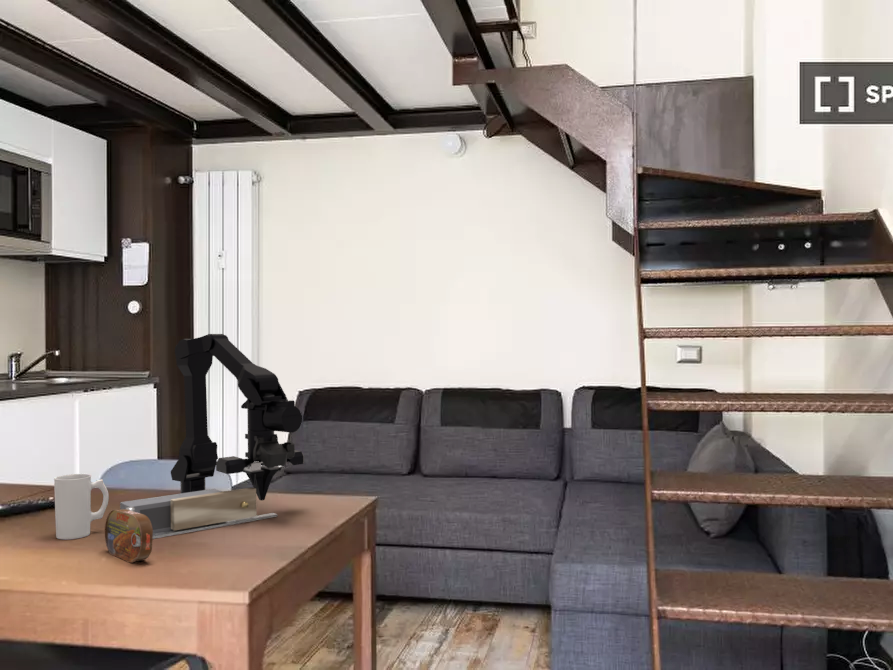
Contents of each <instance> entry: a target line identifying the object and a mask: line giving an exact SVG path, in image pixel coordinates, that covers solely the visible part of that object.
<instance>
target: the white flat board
mask: <svg viewBox="0 0 893 670" xmlns="http://www.w3.org/2000/svg"><path fill="white" fill-rule="evenodd" d="M126 509H127V510H130V511H134V512H135V507H127V508H126ZM270 518H271V519H272V518H278V514H277V513H274V512H270V513H264V514H260V515H259V514H256V516H255V517H249V518H243V519H237V520H232V521H226V522H220V523H215V524H209V525H203V526H198V527H192V528H186V529H181V530H175V531H174V530H172V531H166V532H161V533H155V534H153V540H154V539H160V538H164V537H165V538H166V537H171V536H177V535H182V534H186V533H187V534H188V533H194V532H198V531H205V530H210V529H211V530H212V529H216V528H220V527H227V526H232V525H239V524H244V523H248V522H254V521H259V520H260V521H261V520H266V519H270Z"/></svg>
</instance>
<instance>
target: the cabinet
mask: <svg viewBox="0 0 893 670" xmlns="http://www.w3.org/2000/svg"><path fill="white" fill-rule="evenodd" d="M217 492H223V491H222V490H219V489H216V488H210V489H206V490H202V491H195V492H188V493H181V492H180V493H175V494H168V495H162V496H161V495H160V496H156V497H148V498H140V499H139V498H138V499H134V500H125V501H120V502H119V510H122V509H126V508H127V507H135V512H137V513H140V514H144V515H146V516H147V517H148V518H149V520H150V521H151V524H152V528H153V534H155V533H161V532H166V531H172V529H171V499H177V498H184V497H191V496H197V495H204V494H211V493H217Z"/></svg>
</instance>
